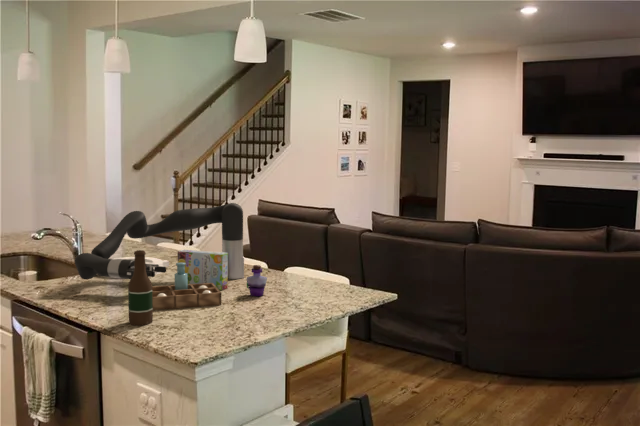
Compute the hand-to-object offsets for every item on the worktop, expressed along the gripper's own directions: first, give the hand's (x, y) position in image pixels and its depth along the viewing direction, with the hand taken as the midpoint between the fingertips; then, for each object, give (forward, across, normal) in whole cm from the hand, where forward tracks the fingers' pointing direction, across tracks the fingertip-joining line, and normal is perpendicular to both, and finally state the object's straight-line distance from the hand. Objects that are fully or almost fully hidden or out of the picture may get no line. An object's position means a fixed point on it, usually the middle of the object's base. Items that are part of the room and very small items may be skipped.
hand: (160, 271), depth 230 cm
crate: (+11, -3, +10) cm, 15 cm away
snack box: (+8, +21, +10) cm, 25 cm away
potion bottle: (+34, +15, +10) cm, 38 cm away
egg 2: (+16, +5, +9) cm, 19 cm away
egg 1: (+7, -11, +9) cm, 16 cm away
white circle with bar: (-37, +39, +11) cm, 54 cm away
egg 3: (+20, -2, +9) cm, 22 cm away
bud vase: (+9, 0, +9) cm, 13 cm away
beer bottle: (+11, -32, +10) cm, 35 cm away
